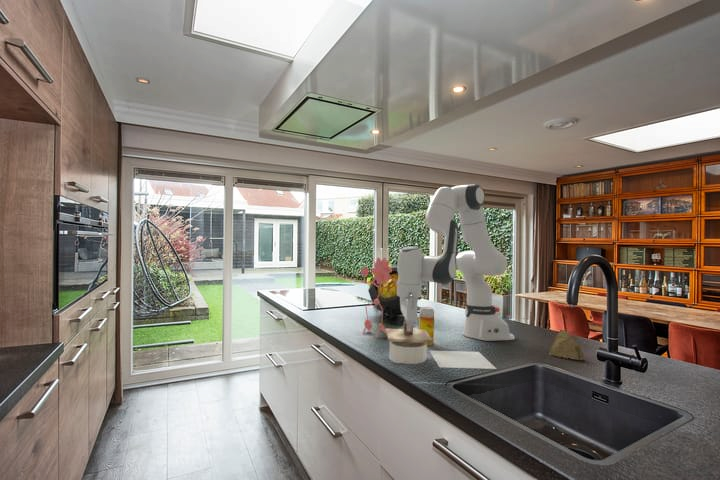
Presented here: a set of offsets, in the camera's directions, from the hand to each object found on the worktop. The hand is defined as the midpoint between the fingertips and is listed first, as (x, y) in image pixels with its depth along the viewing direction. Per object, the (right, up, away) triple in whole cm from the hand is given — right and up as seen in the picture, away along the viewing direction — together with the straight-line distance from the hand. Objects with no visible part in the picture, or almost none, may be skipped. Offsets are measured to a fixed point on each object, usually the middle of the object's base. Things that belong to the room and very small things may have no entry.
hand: (408, 329), depth 133 cm
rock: (+61, -12, +6) cm, 62 cm away
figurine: (-8, -11, +36) cm, 38 cm away
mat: (+19, -11, 0) cm, 22 cm away
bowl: (0, -11, 0) cm, 11 cm away
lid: (0, -2, 0) cm, 2 cm away
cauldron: (+3, -11, +76) cm, 77 cm away
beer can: (+10, -11, +20) cm, 25 cm away
